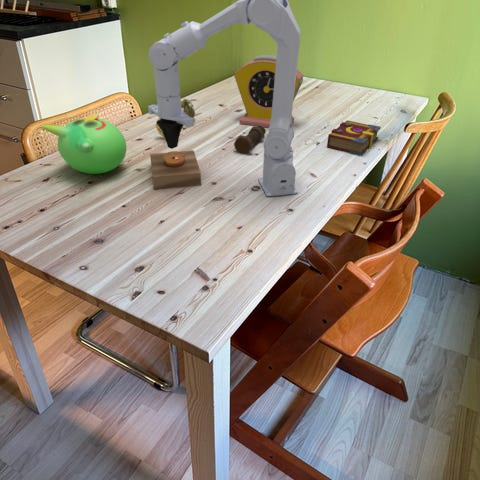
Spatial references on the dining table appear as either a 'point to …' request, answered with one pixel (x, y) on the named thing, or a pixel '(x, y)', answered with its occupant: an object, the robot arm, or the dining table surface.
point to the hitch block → (175, 172)
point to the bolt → (249, 140)
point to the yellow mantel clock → (259, 89)
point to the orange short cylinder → (174, 159)
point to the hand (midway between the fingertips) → (172, 147)
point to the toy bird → (90, 144)
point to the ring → (159, 129)
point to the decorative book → (353, 137)
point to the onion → (188, 107)
